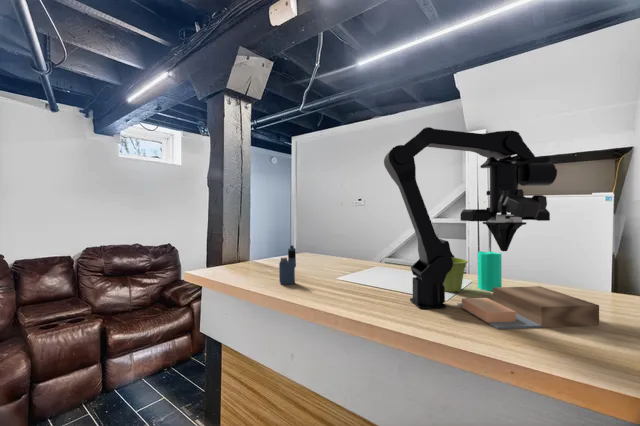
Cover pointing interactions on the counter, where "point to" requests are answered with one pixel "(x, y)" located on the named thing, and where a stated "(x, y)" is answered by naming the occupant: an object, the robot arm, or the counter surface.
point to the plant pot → (455, 275)
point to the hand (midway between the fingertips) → (503, 251)
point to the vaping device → (288, 267)
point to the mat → (519, 323)
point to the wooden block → (547, 306)
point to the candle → (489, 270)
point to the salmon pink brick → (489, 310)
